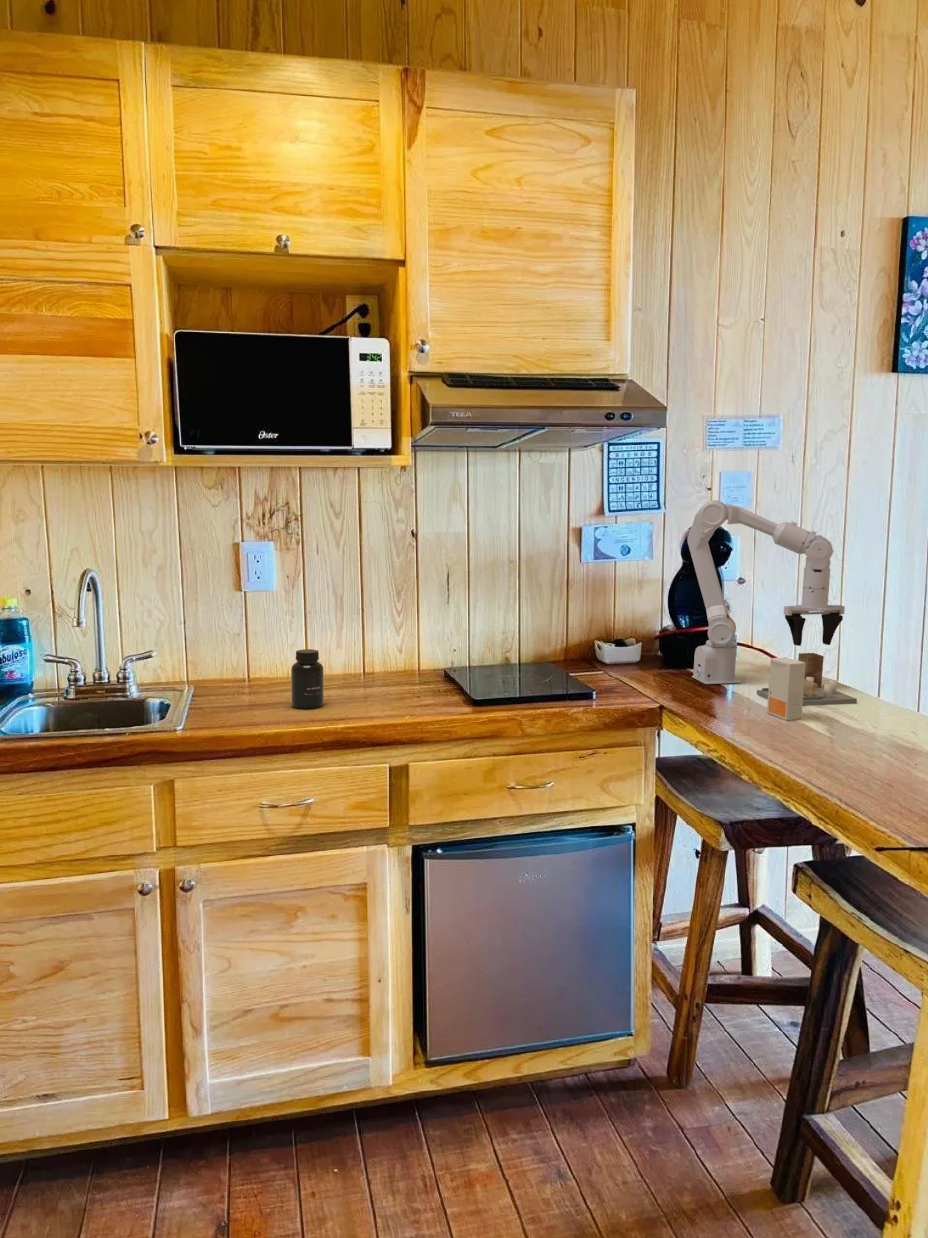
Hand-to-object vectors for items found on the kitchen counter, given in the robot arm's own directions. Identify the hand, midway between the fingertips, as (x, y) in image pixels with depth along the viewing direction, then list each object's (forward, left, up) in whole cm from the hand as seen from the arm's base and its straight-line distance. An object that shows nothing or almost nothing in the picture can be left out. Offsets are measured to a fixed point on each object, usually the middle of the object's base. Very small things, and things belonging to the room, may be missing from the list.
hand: (811, 644), depth 205 cm
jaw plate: (-7, -10, -9) cm, 15 cm away
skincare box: (-20, -23, -11) cm, 32 cm away
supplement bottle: (-118, +1, -11) cm, 118 cm away
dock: (-7, -10, -10) cm, 16 cm away
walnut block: (0, 0, -10) cm, 11 cm away
